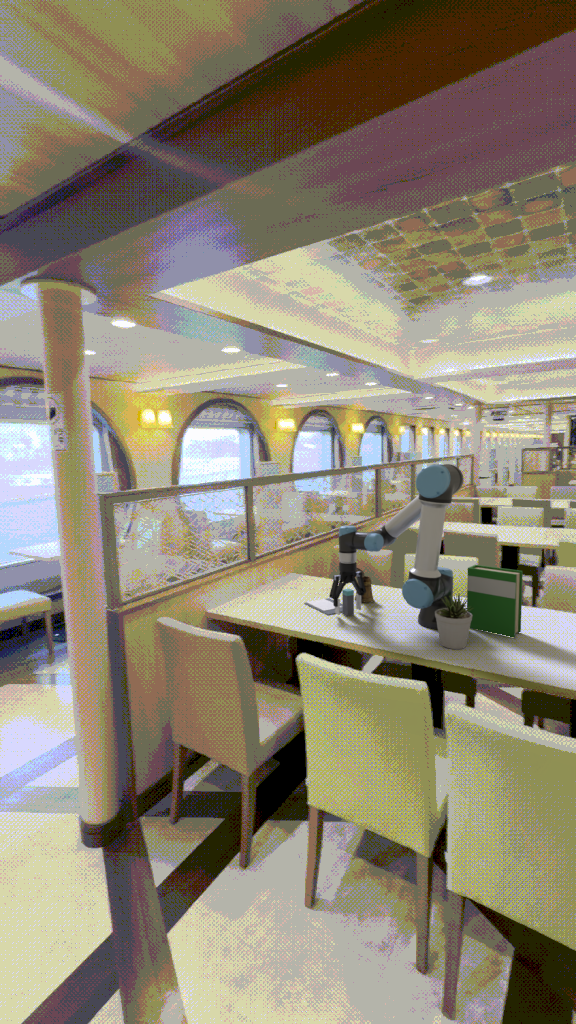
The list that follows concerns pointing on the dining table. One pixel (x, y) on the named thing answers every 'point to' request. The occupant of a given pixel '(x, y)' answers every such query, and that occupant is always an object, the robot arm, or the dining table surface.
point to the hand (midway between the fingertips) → (348, 611)
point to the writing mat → (324, 606)
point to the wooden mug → (367, 582)
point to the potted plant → (453, 623)
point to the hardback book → (495, 599)
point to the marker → (348, 602)
